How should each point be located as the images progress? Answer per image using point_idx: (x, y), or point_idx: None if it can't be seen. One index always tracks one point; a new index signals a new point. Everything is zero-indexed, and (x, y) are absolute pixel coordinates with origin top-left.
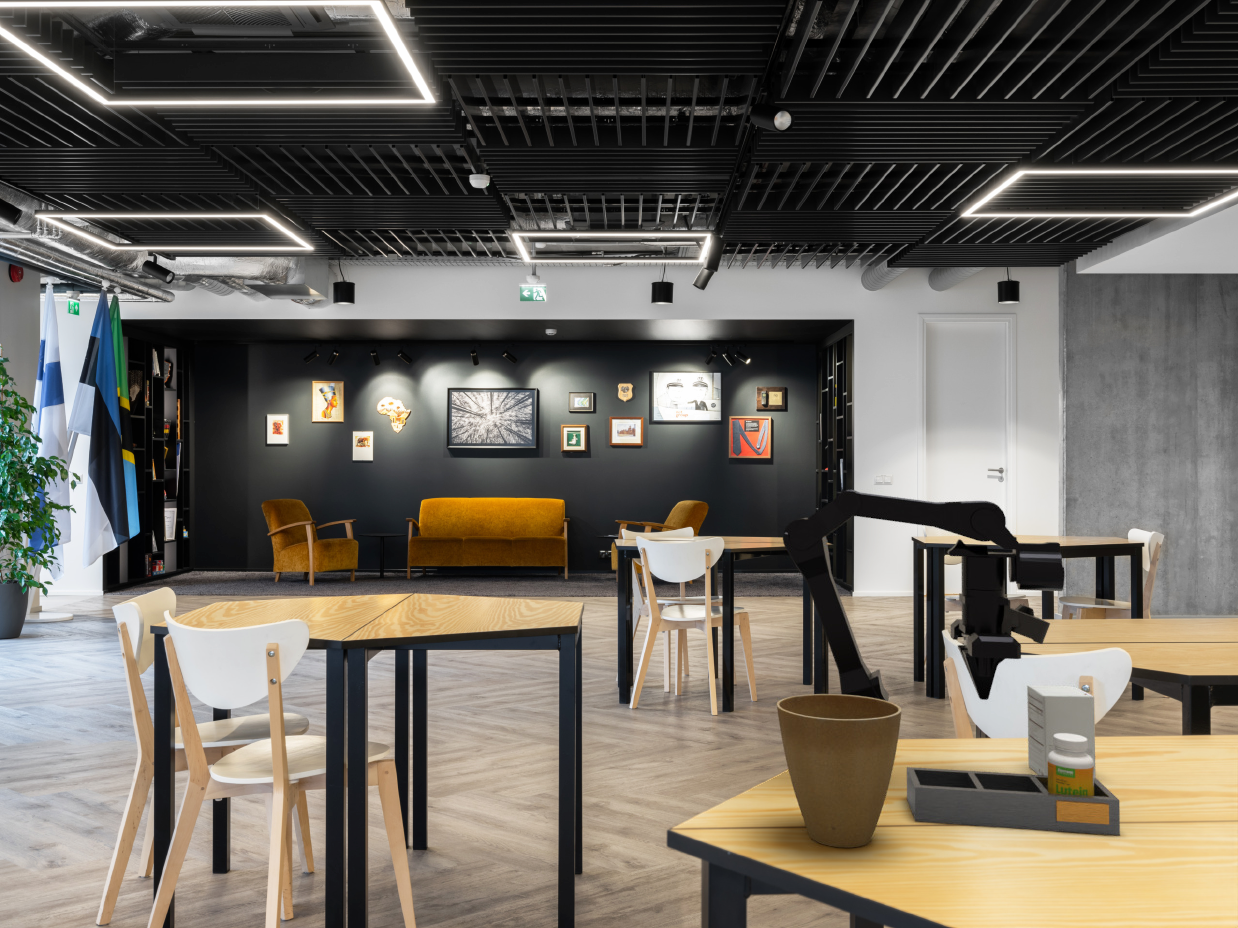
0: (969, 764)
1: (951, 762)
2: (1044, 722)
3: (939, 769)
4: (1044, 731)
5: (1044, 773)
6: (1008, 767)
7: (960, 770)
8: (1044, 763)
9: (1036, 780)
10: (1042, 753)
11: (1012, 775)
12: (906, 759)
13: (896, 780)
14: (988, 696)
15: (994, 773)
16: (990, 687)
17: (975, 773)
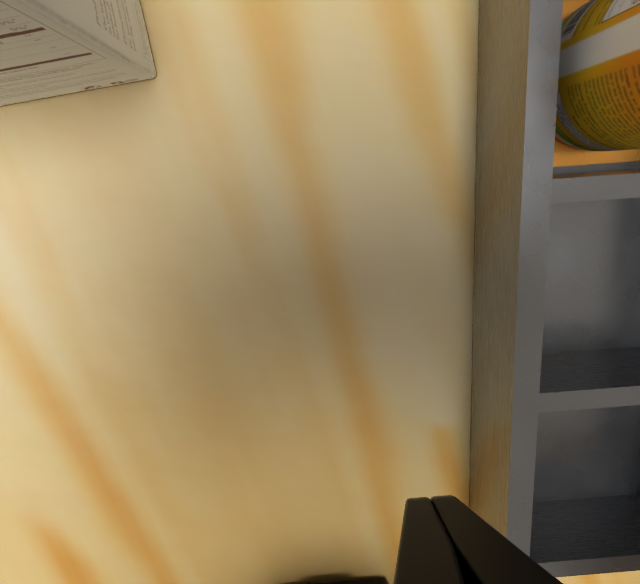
0: (45, 322)
1: (45, 377)
2: (37, 9)
3: (513, 493)
4: (65, 27)
5: (139, 77)
6: (25, 191)
7: (513, 432)
8: (129, 68)
9: (602, 184)
10: (94, 65)
11: (545, 264)
12: (70, 503)
13: (309, 530)
14: (469, 508)
15: (531, 325)
16: (535, 563)
17: (537, 387)
